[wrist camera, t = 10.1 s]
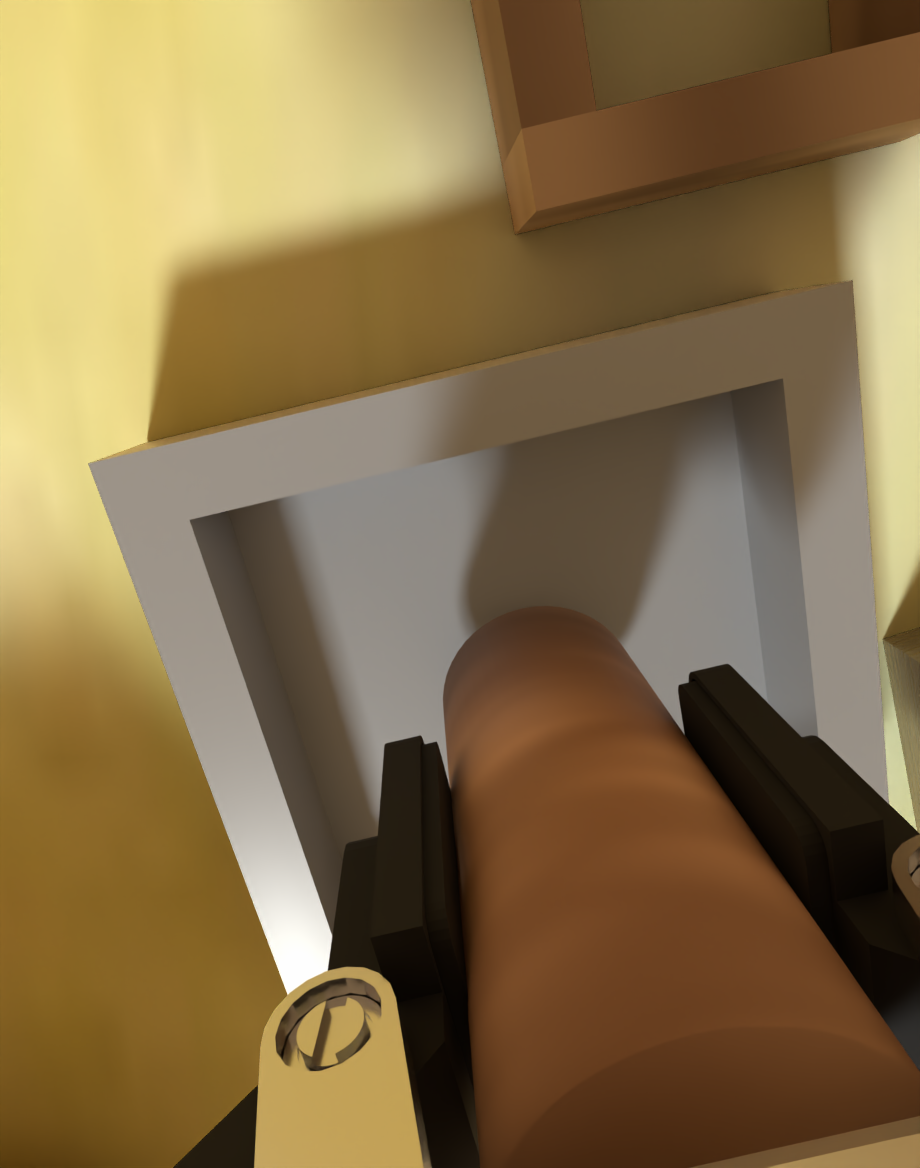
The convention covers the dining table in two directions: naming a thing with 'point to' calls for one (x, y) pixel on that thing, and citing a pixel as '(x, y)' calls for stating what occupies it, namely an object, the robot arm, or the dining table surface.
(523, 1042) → the dowel
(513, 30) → the socket block
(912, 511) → the dining table surface
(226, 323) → the dining table surface
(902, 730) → the grey rectangular block
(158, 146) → the dining table surface
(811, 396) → the tray
